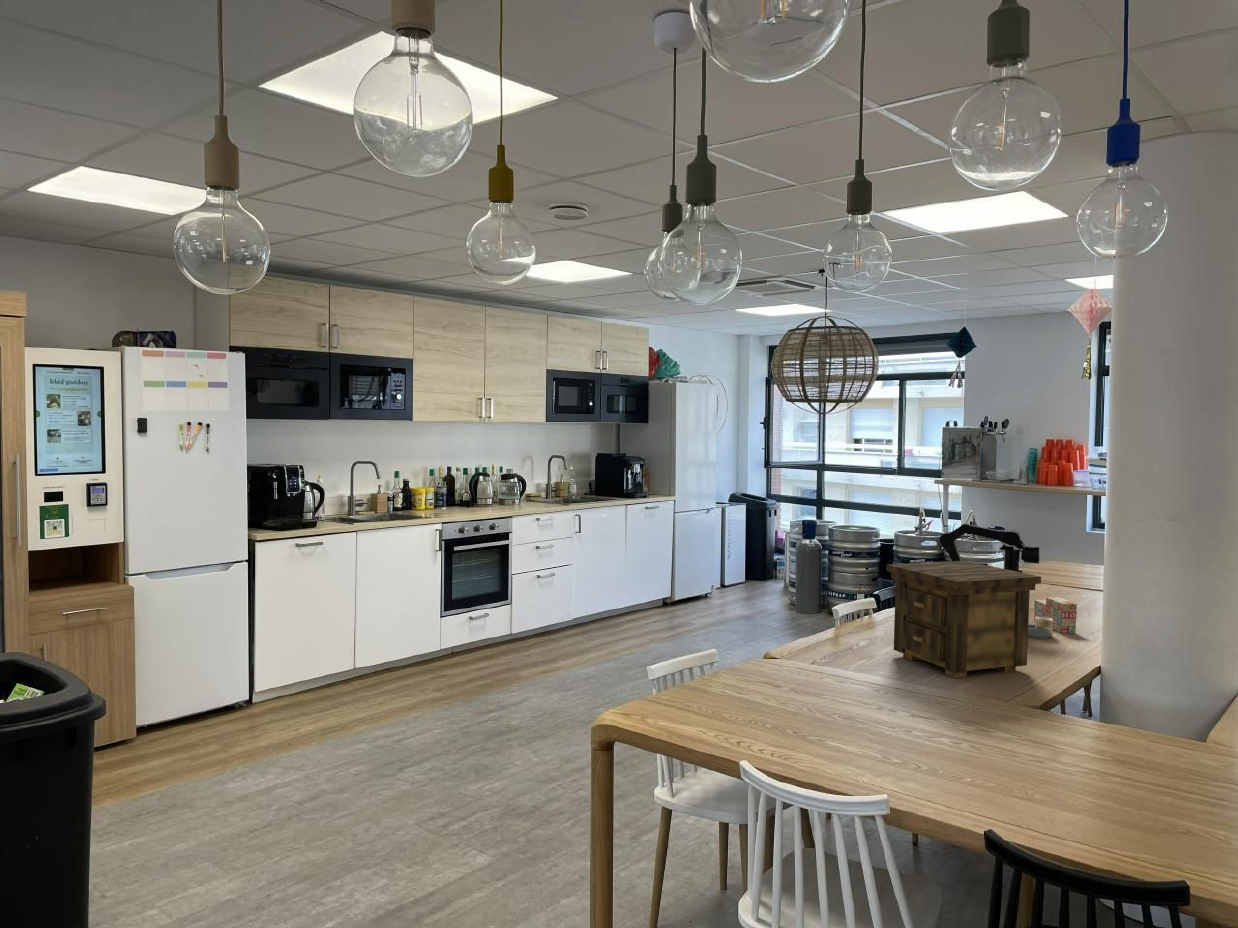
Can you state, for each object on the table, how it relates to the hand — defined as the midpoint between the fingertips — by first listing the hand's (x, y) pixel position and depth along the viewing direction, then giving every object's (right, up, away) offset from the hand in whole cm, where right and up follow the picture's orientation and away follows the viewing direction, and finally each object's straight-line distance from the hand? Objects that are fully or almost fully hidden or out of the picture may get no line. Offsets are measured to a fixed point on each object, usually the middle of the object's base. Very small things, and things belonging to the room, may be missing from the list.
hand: (1009, 598), depth 351 cm
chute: (-1, -12, -10) cm, 16 cm away
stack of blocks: (+20, -13, +3) cm, 24 cm away
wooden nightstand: (-44, -14, -56) cm, 73 cm away
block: (+7, -12, -14) cm, 19 cm away
